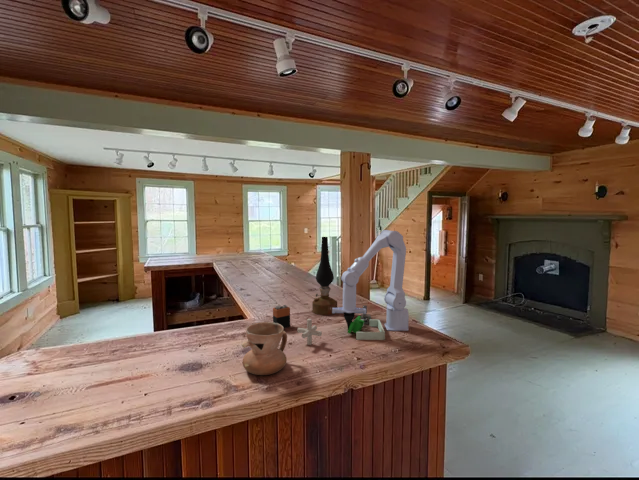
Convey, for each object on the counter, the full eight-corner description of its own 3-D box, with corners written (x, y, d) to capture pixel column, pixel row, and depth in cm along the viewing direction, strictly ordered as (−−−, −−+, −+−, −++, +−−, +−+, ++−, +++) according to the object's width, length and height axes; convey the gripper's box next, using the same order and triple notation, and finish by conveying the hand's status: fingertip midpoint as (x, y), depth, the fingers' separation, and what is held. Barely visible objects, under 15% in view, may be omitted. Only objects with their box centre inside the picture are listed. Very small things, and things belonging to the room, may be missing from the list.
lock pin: (368, 321, 149) (368, 310, 148) (364, 321, 149) (364, 310, 148) (366, 315, 157) (366, 305, 156) (362, 315, 157) (362, 305, 157)
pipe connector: (326, 341, 130) (326, 317, 129) (315, 351, 121) (315, 325, 120) (304, 337, 134) (304, 314, 133) (292, 346, 125) (292, 321, 124)
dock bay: (379, 325, 147) (379, 319, 146) (384, 339, 131) (385, 332, 131) (353, 325, 147) (353, 319, 147) (356, 339, 131) (356, 332, 131)
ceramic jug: (255, 387, 96) (255, 341, 95) (230, 369, 106) (230, 328, 105) (300, 367, 109) (301, 326, 108) (274, 353, 119) (275, 316, 118)
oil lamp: (341, 316, 171) (356, 242, 170) (326, 319, 158) (342, 239, 158) (319, 309, 178) (334, 238, 178) (304, 311, 165) (319, 235, 165)
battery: (272, 327, 145) (272, 305, 145) (285, 324, 149) (285, 303, 148) (277, 330, 142) (276, 308, 141) (290, 327, 146) (290, 305, 145)
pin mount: (370, 324, 148) (371, 316, 148) (361, 324, 148) (361, 316, 148) (370, 322, 151) (370, 314, 151) (361, 322, 152) (361, 314, 151)
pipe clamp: (355, 336, 134) (358, 327, 133) (347, 332, 136) (350, 323, 135) (362, 327, 144) (366, 318, 143) (355, 323, 146) (358, 315, 145)
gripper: (332, 301, 134) (332, 332, 136) (367, 301, 134) (366, 333, 135) (332, 296, 141) (332, 326, 143) (365, 297, 141) (364, 327, 142)
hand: (348, 329), depth 139 cm, fingers closed, pressing on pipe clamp
